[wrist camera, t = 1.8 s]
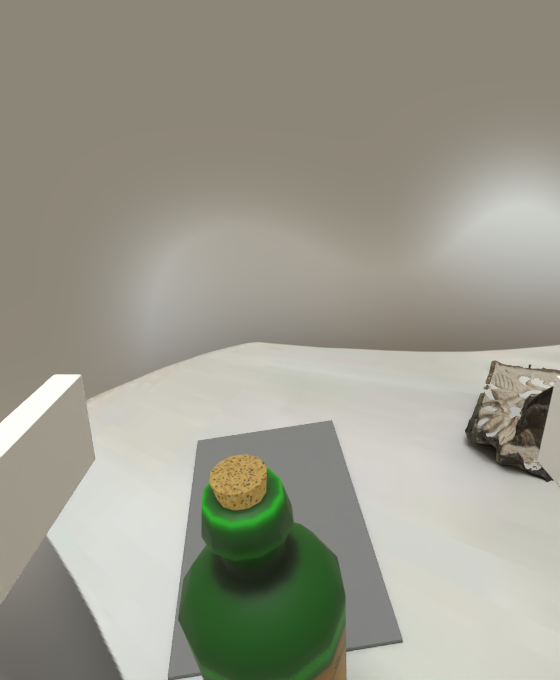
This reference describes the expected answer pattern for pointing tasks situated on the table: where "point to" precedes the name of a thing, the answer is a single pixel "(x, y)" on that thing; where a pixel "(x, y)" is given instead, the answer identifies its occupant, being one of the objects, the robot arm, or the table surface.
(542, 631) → the table surface
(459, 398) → the table surface
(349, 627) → the mat
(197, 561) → the bottle
